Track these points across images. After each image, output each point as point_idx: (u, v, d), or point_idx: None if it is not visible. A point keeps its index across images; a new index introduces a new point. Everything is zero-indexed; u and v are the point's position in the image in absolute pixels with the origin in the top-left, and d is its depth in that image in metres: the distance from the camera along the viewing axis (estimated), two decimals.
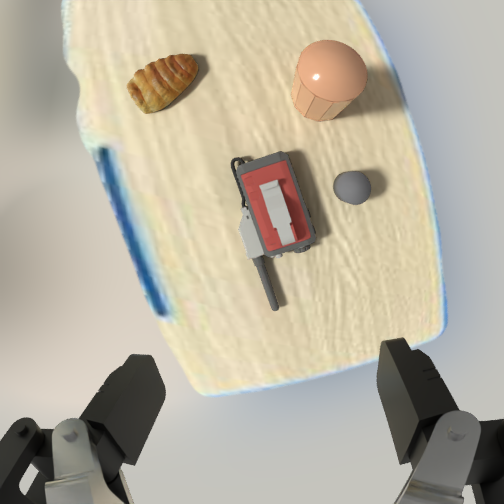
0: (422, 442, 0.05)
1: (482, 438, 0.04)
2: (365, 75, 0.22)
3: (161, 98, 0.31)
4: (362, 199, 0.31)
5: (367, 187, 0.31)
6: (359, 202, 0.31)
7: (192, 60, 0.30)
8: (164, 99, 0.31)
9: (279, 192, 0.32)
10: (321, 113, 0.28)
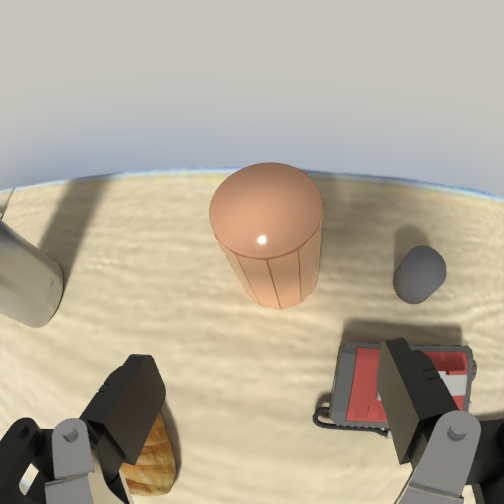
0: (422, 442, 0.05)
1: (482, 438, 0.04)
2: (290, 168, 0.18)
3: (158, 465, 0.17)
4: (441, 263, 0.20)
5: (428, 251, 0.20)
6: (444, 268, 0.19)
7: None
8: (164, 464, 0.18)
9: None
10: (314, 270, 0.20)
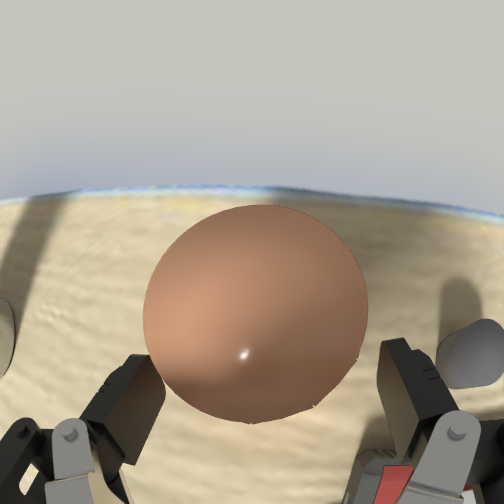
0: (422, 442, 0.05)
1: (482, 438, 0.04)
2: (303, 219, 0.09)
3: None
4: None
5: (490, 326, 0.12)
6: None
7: None
8: None
9: None
10: None
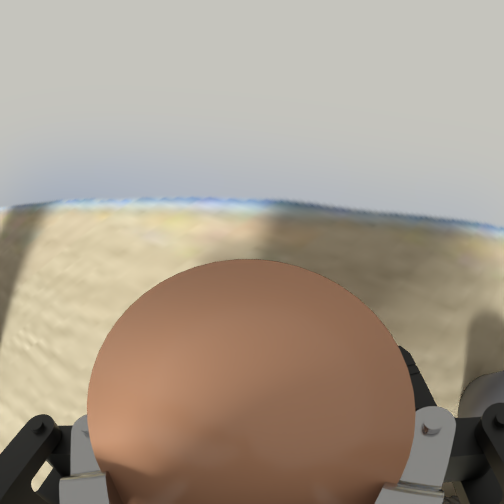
0: None
1: (459, 435, 0.04)
2: (323, 287, 0.05)
3: None
4: None
5: None
6: None
7: None
8: None
9: None
10: None
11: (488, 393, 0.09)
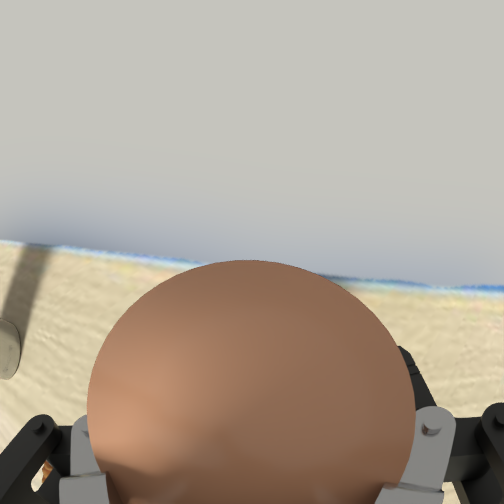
0: None
1: (459, 435, 0.04)
2: (323, 288, 0.05)
3: None
4: None
5: None
6: None
7: None
8: None
9: None
10: None
11: None
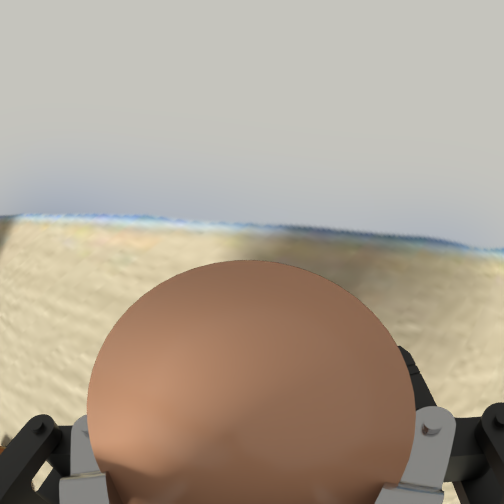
0: None
1: (459, 435, 0.04)
2: (323, 288, 0.05)
3: None
4: None
5: None
6: None
7: None
8: None
9: None
10: None
11: None
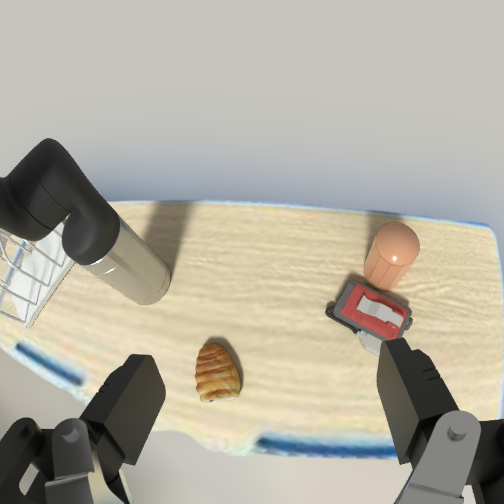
0: (422, 442, 0.05)
1: (482, 438, 0.04)
2: (405, 225, 0.37)
3: (232, 376, 0.40)
4: None
5: None
6: None
7: (209, 344, 0.43)
8: (234, 375, 0.40)
9: (370, 302, 0.40)
10: None
11: None
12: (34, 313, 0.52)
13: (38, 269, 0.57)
